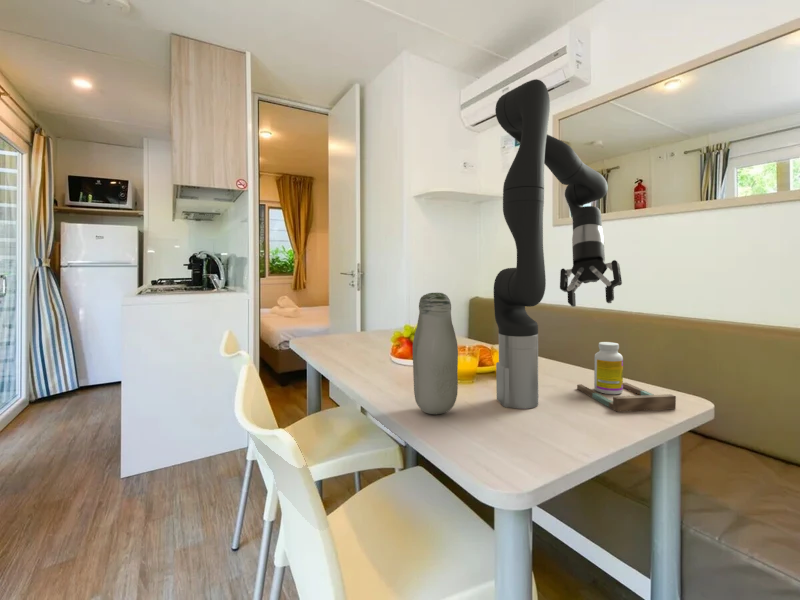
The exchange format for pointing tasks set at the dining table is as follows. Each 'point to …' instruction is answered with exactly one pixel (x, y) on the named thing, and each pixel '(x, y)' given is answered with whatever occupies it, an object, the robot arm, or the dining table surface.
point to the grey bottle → (435, 355)
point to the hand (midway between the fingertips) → (590, 304)
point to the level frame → (634, 400)
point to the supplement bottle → (608, 369)
